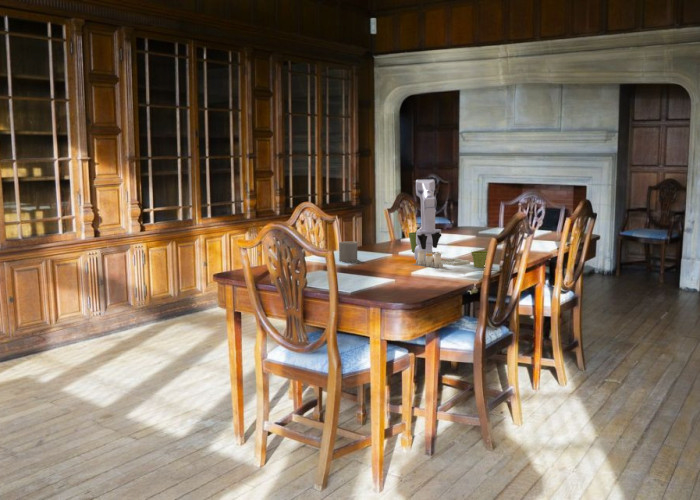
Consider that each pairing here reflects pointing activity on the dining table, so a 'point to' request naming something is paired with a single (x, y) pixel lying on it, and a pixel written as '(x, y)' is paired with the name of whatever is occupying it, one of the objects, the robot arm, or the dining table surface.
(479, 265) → the plant pot
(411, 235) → the plant pot
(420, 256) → the fuse left
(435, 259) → the fuse right
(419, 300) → the dining table surface
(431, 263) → the fuse holder
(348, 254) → the grey block
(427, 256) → the cylinder
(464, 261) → the tray
